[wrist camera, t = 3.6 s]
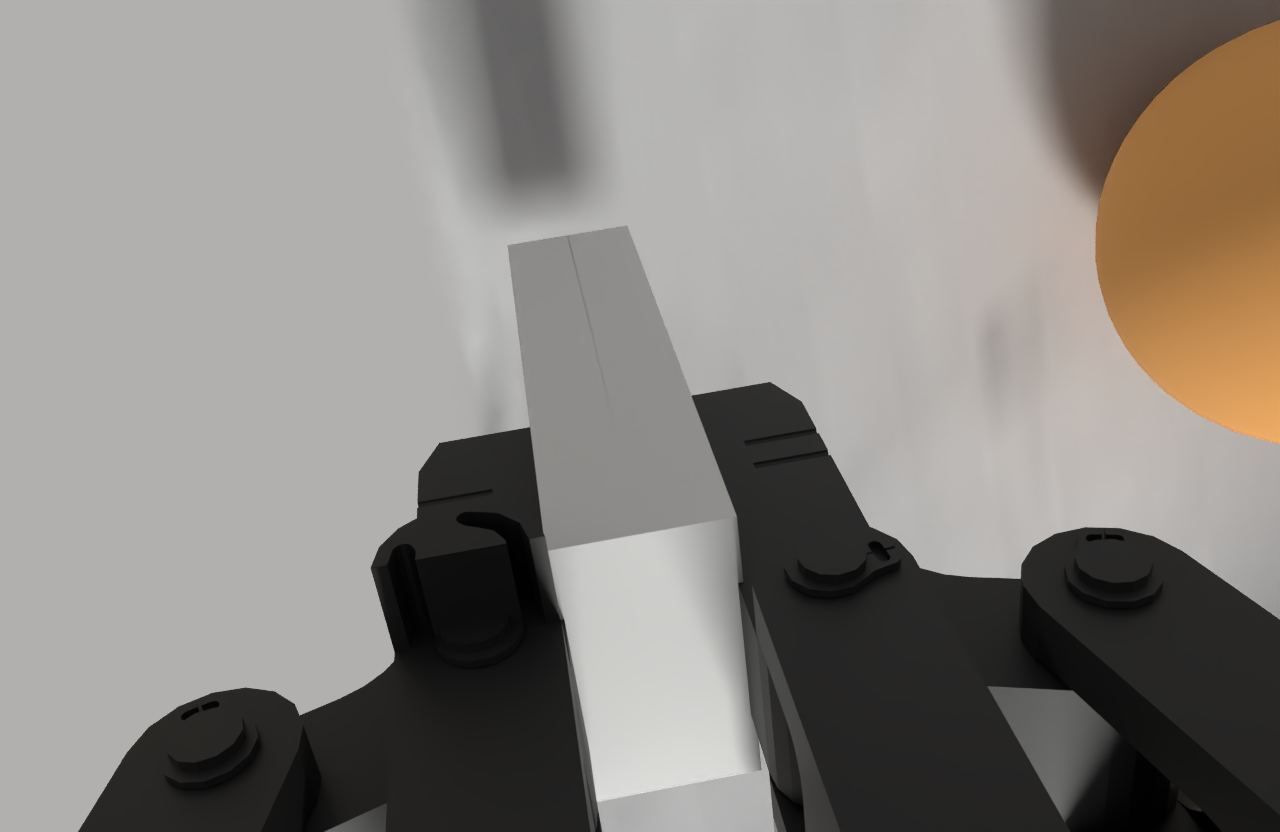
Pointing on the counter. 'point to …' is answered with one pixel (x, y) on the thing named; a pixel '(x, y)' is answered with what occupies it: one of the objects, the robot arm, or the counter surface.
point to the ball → (1203, 236)
